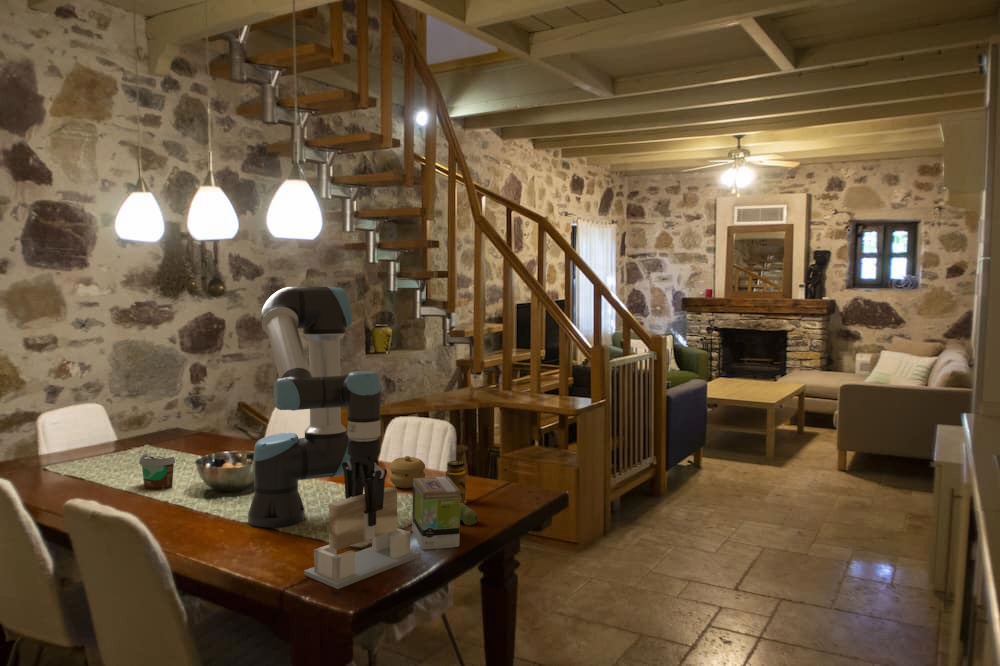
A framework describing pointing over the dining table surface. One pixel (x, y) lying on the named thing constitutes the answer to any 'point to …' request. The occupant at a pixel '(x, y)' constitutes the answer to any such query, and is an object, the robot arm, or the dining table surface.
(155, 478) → the food container
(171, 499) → the dining table surface
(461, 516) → the pear
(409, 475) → the pot
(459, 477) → the condiment
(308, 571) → the frame
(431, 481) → the tea box
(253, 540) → the dining table surface
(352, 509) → the slat
